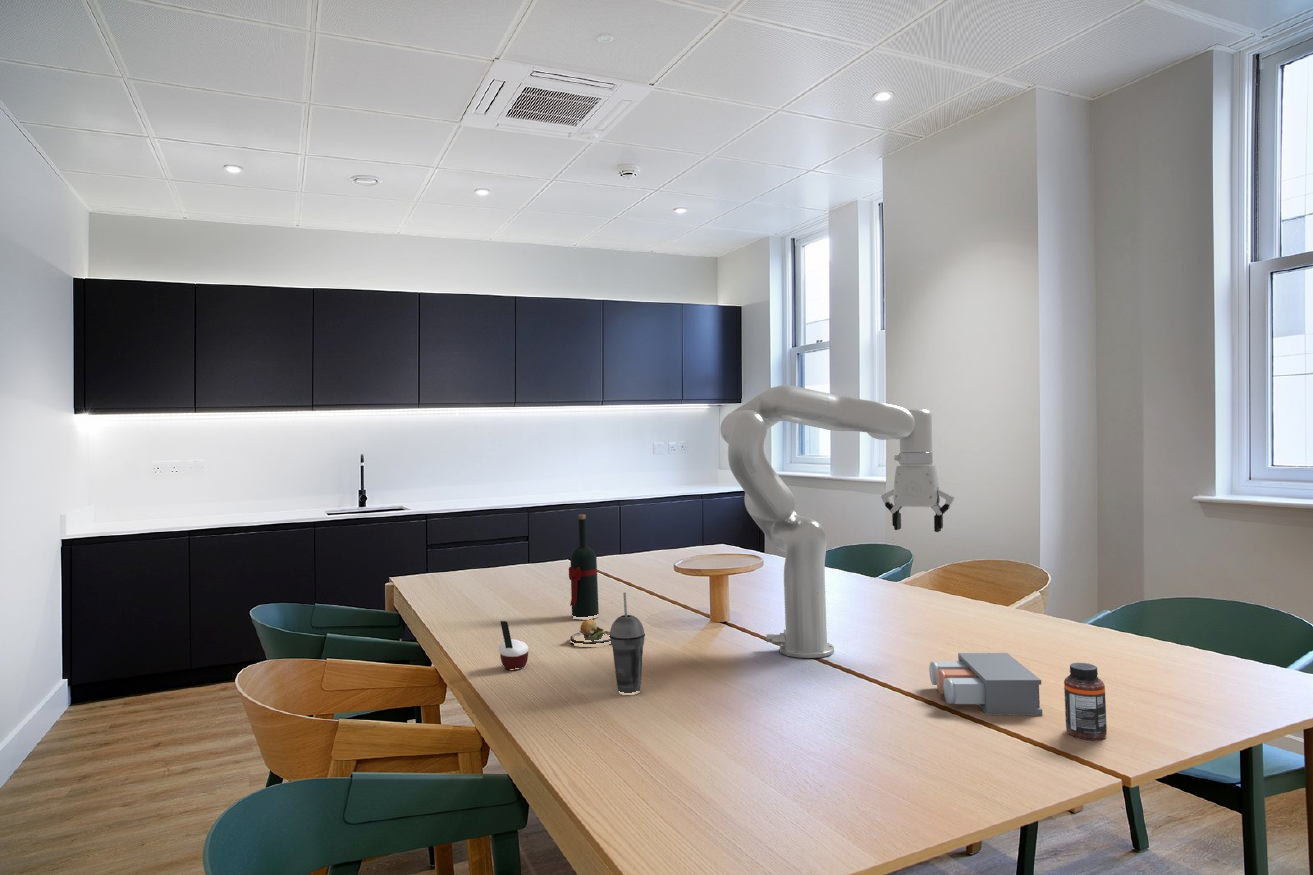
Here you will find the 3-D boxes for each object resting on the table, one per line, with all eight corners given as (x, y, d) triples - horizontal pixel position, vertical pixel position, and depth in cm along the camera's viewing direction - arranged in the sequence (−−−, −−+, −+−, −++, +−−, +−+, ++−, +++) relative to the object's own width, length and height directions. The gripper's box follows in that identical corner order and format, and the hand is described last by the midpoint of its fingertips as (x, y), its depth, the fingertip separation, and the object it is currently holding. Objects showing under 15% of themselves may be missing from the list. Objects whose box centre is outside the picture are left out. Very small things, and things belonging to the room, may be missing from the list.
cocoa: (518, 661, 186) (516, 610, 186) (537, 665, 182) (536, 613, 182) (488, 672, 178) (486, 618, 178) (507, 676, 175) (505, 621, 175)
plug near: (950, 707, 143) (949, 682, 143) (943, 699, 147) (943, 675, 147) (1002, 707, 142) (1001, 682, 142) (994, 699, 146) (993, 675, 146)
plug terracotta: (942, 697, 148) (941, 673, 148) (936, 689, 152) (935, 666, 153) (992, 697, 147) (991, 673, 147) (985, 689, 152) (984, 666, 152)
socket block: (987, 715, 141) (986, 680, 141) (959, 684, 159) (958, 653, 159) (1042, 715, 140) (1041, 680, 140) (1008, 684, 158) (1006, 652, 158)
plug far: (935, 688, 154) (934, 665, 154) (929, 681, 158) (928, 659, 158) (983, 687, 153) (982, 665, 153) (976, 681, 157) (975, 658, 157)
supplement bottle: (1070, 725, 135) (1068, 658, 135) (1110, 732, 131) (1107, 663, 131) (1062, 736, 130) (1059, 667, 130) (1103, 744, 126) (1100, 672, 126)
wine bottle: (561, 620, 228) (558, 516, 228) (582, 613, 237) (579, 513, 237) (583, 623, 224) (580, 517, 224) (604, 615, 233) (600, 513, 233)
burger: (622, 645, 199) (621, 615, 199) (577, 651, 195) (576, 620, 195) (607, 635, 211) (606, 606, 211) (564, 640, 206) (563, 611, 206)
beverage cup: (615, 699, 156) (612, 598, 156) (607, 689, 163) (604, 591, 163) (651, 695, 158) (647, 595, 158) (642, 685, 165) (638, 589, 165)
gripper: (876, 460, 194) (877, 530, 194) (948, 460, 185) (949, 533, 184) (886, 459, 201) (887, 527, 200) (957, 459, 191) (958, 530, 191)
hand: (917, 530), depth 192 cm, fingers open, 9 cm apart
